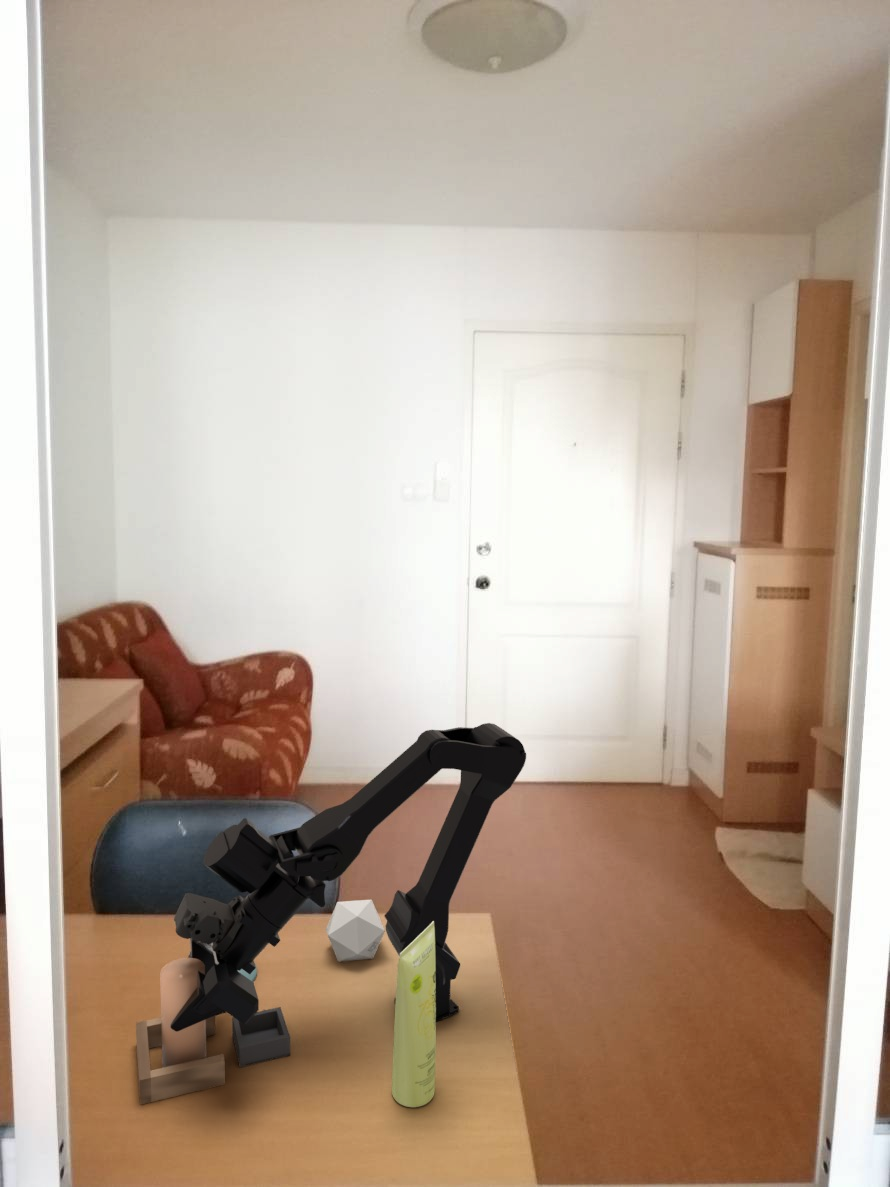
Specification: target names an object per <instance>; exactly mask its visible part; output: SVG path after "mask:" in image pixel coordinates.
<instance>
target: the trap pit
mask: <svg viewBox="0 0 890 1187" xmlns="http://www.w3.org/2000/svg"><path fill="white" fill-rule="evenodd" d="M231 1017H232V1018H231V1020H232V1024H231V1025H232V1028H231V1029H232V1039H233V1043H234V1048H235V1051H236V1052H235V1053H236V1058H237V1060H238V1061H237V1062H238V1065H239V1068H242V1067H243V1068H244V1067H248V1066H252V1065H255V1064H256V1065H257V1064H260V1063H264V1062H268V1061H272V1060H277V1059H281V1058H285V1057H290V1056H291V1035H290V1031H289V1029H288V1026H287V1022H286V1020H285V1017H284V1013H283V1010H282V1008H281V1006H280V1007H275V1008H269V1009H265V1010H258V1011H257V1013H256V1014H255V1015H254V1016H253V1017H252V1018H251V1019H250V1020H249V1022H248V1023H247V1024H243V1023H242V1022H240V1021H239V1020H237V1019H236V1018H234V1017H233V1016H231Z"/></svg>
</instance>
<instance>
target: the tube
mask: <svg viewBox="0 0 890 1187" xmlns="http://www.w3.org/2000/svg"><path fill="white" fill-rule="evenodd" d="M398 956H399V955H398ZM396 970H397V971H396V972H397V974H396V988H395V989H396V990H395V998H396V1003H394V1006H395V1007H394V1008H395V1009H394V1027H393V1051H392V1072H391V1073H392V1074H391V1077H392V1078H391V1094H392V1096H393V1099H394V1100H395V1101H396V1102H397V1103H398V1104H399V1105H401V1106H404V1107H407V1108H419V1107H422V1106H425V1105H427V1104H428V1103H430V1101H431V1100H432V1099H433V1098H434V1095H435V1089H436V1046H437V1045H436V1043H437V1042H436V1040H437V1039H436V1035H437V1034H436V1033H437V1029H436V1028H437V1021H436V963H435V928H434V921H433V922H432V923H431V924H430V925H429V926H428V927H427V928H426V929H425V930H424V931H423V932H422V933H421V934H420V935H419V936H418V937H417V938H416V939H415V940H414V941H413V942H412V943H411V944H409V945H408V946H407V947H406V948H405V949H404V950H403V951H402V952H401V953H400V956H399V958H398V961H397V969H396Z"/></svg>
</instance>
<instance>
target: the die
mask: <svg viewBox="0 0 890 1187" xmlns="http://www.w3.org/2000/svg"><path fill="white" fill-rule="evenodd" d="M325 931H326V935H327V938H328V940H329V943H330V944H331V947H332V949H333V952H334V954H335V957H336V959H337V962H348V961H349V962H351V961H360V960H370V959H371V960H372V959H373V960H374V958H375V956H376V953H377V950H378V947H380V944H381V941H382V938H383V937H384V934H385V932H386V929H385V928H384V926H383V923H382V921H381V918H380V915H379V913H378V911H377V909H376V906H375V904H374V902H373V899H361V900H360V899H359V900H358V899H357V900H346V901H337V902H336V904H335V907H334V908H333V911H332V914H331V916H330V918H329V921H328V924H327V926H326V928H325Z"/></svg>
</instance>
